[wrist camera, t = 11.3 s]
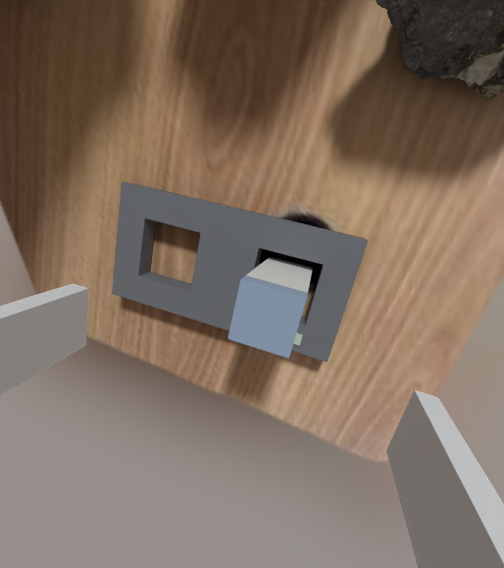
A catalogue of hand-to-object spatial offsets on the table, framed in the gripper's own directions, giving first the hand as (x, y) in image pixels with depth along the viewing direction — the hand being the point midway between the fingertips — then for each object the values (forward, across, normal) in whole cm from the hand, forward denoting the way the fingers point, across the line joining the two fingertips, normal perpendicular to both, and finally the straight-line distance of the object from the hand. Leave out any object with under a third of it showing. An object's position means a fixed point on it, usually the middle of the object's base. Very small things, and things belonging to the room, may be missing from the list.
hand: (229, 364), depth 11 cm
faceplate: (+16, -5, -1) cm, 17 cm away
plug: (+16, 0, -1) cm, 16 cm away
